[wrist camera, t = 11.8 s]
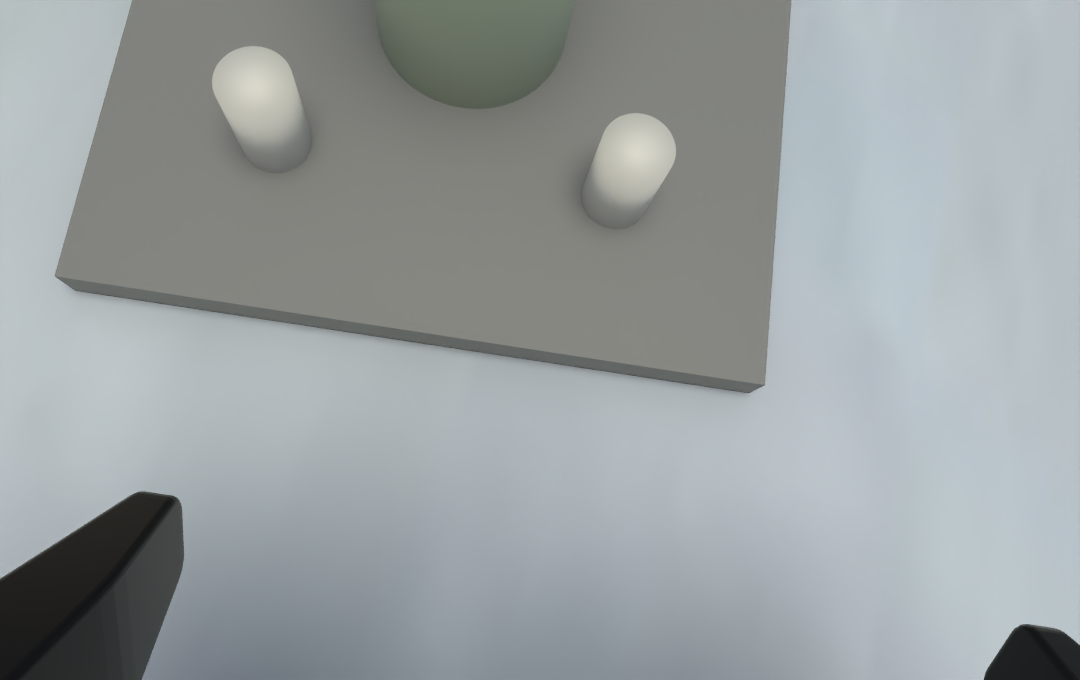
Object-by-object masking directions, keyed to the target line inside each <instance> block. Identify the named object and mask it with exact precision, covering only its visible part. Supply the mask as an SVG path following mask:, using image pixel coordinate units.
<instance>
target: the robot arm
mask: <svg viewBox="0 0 1080 680" xmlns="http://www.w3.org/2000/svg"><path fill="white" fill-rule="evenodd" d="M183 561H184V542H183V520H182V506H181V503H180V501H179V499H178V498H176V497H174V496H171V495H164V494H157V493H151V492H137V493H135V494H132V495H131V496H129V497H127V498H126V499H124V500H123V501H121V502H120V503H118V504H116V505H115V506H113V507H112V508H110V509H109V510H107V511H105V512H104V513H102V514H101V515H99V516H98V517H96V518H95V519H93V520H91V521H90V522H88V523H87V524H85V525H84V526H82V527H80V528H79V529H77V530H76V531H74V532H73V533H71V534H69V535H68V536H66V537H65V538H63V539H62V540H60V541H59V542H57V543H55V544H54V545H52V546H51V547H49V548H48V549H46V550H44V551H43V552H41V553H40V554H38V555H37V556H35V557H34V558H32V559H30V560H29V561H27V562H26V563H24V564H23V565H21V566H19V567H18V568H16V569H15V570H13V571H12V572H10V573H9V574H7V575H5V576H4V577H2V578H1V579H0V680H142V677H143V674H144V672H145V669H146V666H147V664H148V661H149V658H150V656H151V653H152V650H153V647H154V645H155V642H156V639H157V637H158V634H159V631H160V629H161V626H162V623H163V621H164V618H165V615H166V613H167V610H168V607H169V605H170V602H171V599H172V597H173V594H174V591H175V589H176V586H177V583H178V581H179V578H180V575H181V571H182V567H183ZM984 680H1080V645H1079V644H1078V643H1077V642H1075V641H1074V640H1073V639H1072V638H1071V637H1069V636H1068V635H1067V634H1065V633H1064V632H1062V631H1060V630H1058V629H1055V628H1050V627H1043V626H1036V625H1030V624H1023V625H1020V626H1018V627H1017V628H1015V629H1014V630H1013V631H1012V632H1011V634H1010V635H1009V637H1008V639H1007V640H1006V642H1005V643H1004V645H1003V646H1002V648H1001V649H1000V651H999V652H998V654H997V655H996V657H995V658H994V660H993V661H992V663H991V664H990V666H989V667H988V669H987V671H986V673H985V677H984Z"/></svg>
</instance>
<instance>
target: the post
mask: <svg viewBox="0 0 1080 680" xmlns="http://www.w3.org/2000/svg"><path fill="white" fill-rule="evenodd" d="M574 2H575V0H375V5H376V13H377V21H378V29H379V35H380V40H381V43H382V46H383V49H384V51H385V54H386V56H387V58H388V60H389V61H390V63H391V64H392V66H393V67H394V69H395V70H396V71H397V72H398V74H399V75H400V76H401V77H402V78H403V79H404V80H405V81H406V82H407V83H408V84H409V85H410V86H412V87H413V88H415V89H416V90H417V91H419V92H420V93H422V94H424V95H426V96H427V97H429V98H431V99H433V100H436V101H438V102H441V103H444V104H447V105H451V106H455V107H461V108H469V109H484V108H493V107H498V106H502V105H506V104H509V103H512V102H515V101H517V100H519V99H521V98H523V97H525V96H527V95H528V94H530V93H531V92H533V91H534V90H536V89H537V88H538V87H539V86H540V85H541V84H542V83H543V82H545V81H546V79H547V78H548V77H549V76H550V74H551V73H552V72H553V70H554V69H555V67H556V65H557V63H558V61H559V59H560V57H561V54H562V51H563V47H564V43H565V39H566V35H567V31H568V27H569V22H570V18H571V14H572V10H573V6H574Z"/></svg>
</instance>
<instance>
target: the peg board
mask: <svg viewBox="0 0 1080 680" xmlns="http://www.w3.org/2000/svg"><path fill="white" fill-rule="evenodd" d="M790 11H791V0H575V2H574V6H573V10H572V14H571V18H570V22H569V27H568V31H567V35H566V39H565V43H564V47H563V51H562V54H561V57H560V59H559V61H558V63H557V65H556V67H555V69H554V70H553V72H552V73H551V74H550V76H549V77H548V78H547V79H546V81H545V82H543V83H542V84H541V85H540V86H539V87H538V88H537V89H536V90H534V91H533V92H531V93H530V94H528V95H527V96H525V97H523V98H521V99H519V100H517V101H515V102H512V103H509V104H506V105H502V106H498V107H493V108H484V109H469V108H461V107H455V106H451V105H447V104H444V103H441V102H438V101H436V100H433V99H431V98H429V97H427V96H426V95H424V94H422V93H420V92H419V91H417V90H416V89H415V88H413V87H412V86H410V85H409V84H408V83H407V82H406V81H405V80H404V79H403V78H402V77H401V76H400V75H399V74H398V72H397V71H396V70H395V69H394V67H393V66H392V64H391V63H390V61H389V60H388V58H387V56H386V54H385V51H384V49H383V46H382V43H381V40H380V35H379V29H378V21H377V13H376V5H375V0H132V3H131V7H130V11H129V14H128V18H127V21H126V25H125V28H124V32H123V35H122V39H121V42H120V46H119V50H118V53H117V57H116V60H115V64H114V67H113V71H112V74H111V78H110V81H109V85H108V89H107V92H106V96H105V99H104V103H103V106H102V110H101V113H100V117H99V121H98V124H97V128H96V131H95V135H94V138H93V142H92V145H91V149H90V152H89V156H88V160H87V163H86V167H85V170H84V174H83V177H82V181H81V184H80V188H79V191H78V195H77V199H76V202H75V206H74V209H73V213H72V216H71V220H70V223H69V227H68V231H67V234H66V238H65V241H64V245H63V248H62V252H61V255H60V259H59V262H58V266H57V270H56V273H55V277H56V278H58V279H59V280H61V281H62V282H64V283H65V284H67V285H68V286H69V287H71V288H72V289H74V290H77V291H83V292H90V293H96V294H103V295H110V296H116V297H123V298H129V299H136V300H142V301H149V302H155V303H162V304H169V305H175V306H182V307H188V308H195V309H201V310H208V311H215V312H221V313H228V314H234V315H241V316H247V317H254V318H260V319H267V320H274V321H280V322H287V323H293V324H300V325H306V326H313V327H319V328H326V329H333V330H339V331H346V332H352V333H359V334H365V335H372V336H379V337H385V338H392V339H398V340H405V341H411V342H418V343H424V344H431V345H438V346H444V347H451V348H457V349H464V350H470V351H477V352H484V353H490V354H497V355H503V356H510V357H516V358H523V359H529V360H536V361H543V362H549V363H556V364H562V365H569V366H575V367H582V368H588V369H595V370H602V371H608V372H615V373H621V374H628V375H634V376H641V377H648V378H654V379H661V380H667V381H674V382H680V383H687V384H693V385H700V386H707V387H713V388H720V389H726V390H733V391H739V392H746V393H750V392H752V391H754V390H756V389H758V388H760V387H762V386H764V385H765V374H766V360H767V345H768V331H769V316H770V302H771V287H772V273H773V258H774V244H775V229H776V215H777V200H778V186H779V171H780V157H781V142H782V128H783V113H784V99H785V84H786V69H787V55H788V40H789V26H790Z"/></svg>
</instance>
